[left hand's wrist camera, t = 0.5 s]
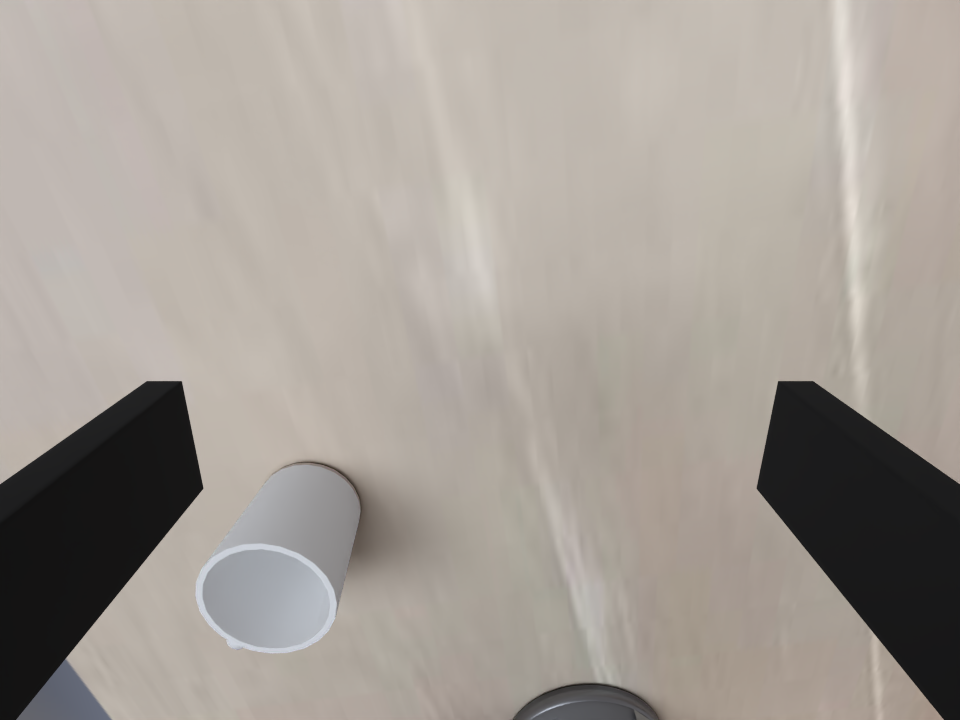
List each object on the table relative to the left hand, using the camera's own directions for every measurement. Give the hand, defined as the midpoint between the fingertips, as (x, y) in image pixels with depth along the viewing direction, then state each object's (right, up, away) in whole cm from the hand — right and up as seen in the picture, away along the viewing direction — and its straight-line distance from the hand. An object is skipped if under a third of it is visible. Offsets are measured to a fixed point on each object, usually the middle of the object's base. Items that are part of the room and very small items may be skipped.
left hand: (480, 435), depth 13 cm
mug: (-14, -11, +33) cm, 38 cm away
